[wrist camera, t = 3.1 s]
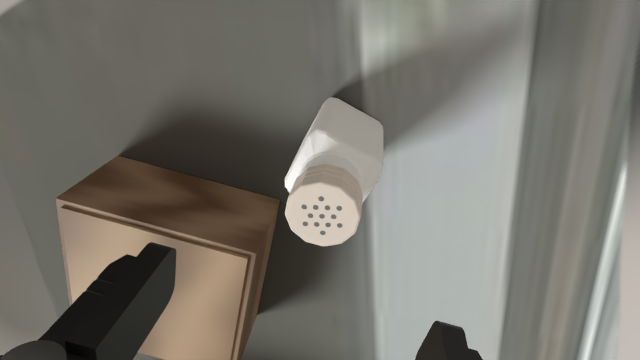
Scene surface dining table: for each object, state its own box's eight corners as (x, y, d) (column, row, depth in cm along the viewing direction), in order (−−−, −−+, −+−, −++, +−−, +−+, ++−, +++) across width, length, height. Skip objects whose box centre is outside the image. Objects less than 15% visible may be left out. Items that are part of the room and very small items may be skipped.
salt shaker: (387, 122, 24) (389, 203, 15) (354, 172, 26) (340, 268, 17) (330, 90, 23) (300, 155, 15) (301, 143, 25) (260, 227, 17)
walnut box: (280, 199, 27) (255, 255, 22) (256, 315, 33) (231, 382, 28) (117, 155, 28) (52, 200, 22) (122, 278, 34) (71, 337, 28)
